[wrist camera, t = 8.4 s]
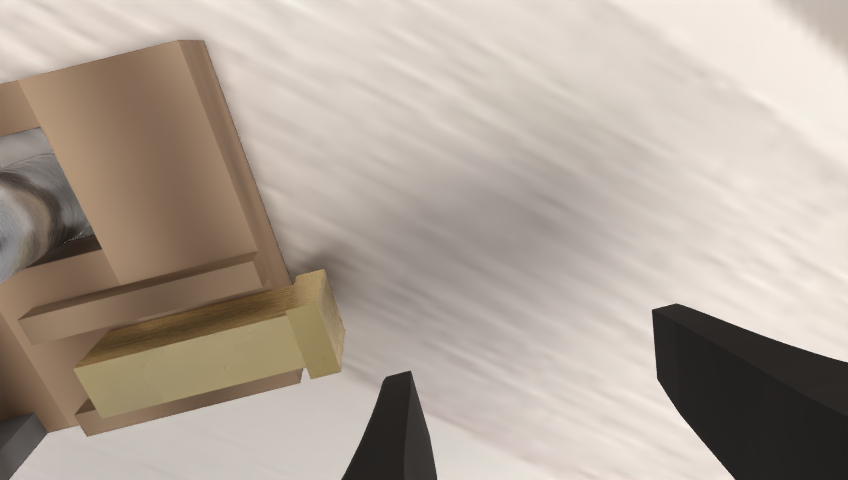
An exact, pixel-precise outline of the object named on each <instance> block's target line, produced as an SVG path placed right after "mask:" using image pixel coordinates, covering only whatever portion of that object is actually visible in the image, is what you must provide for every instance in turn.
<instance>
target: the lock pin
mask: <svg viewBox="0 0 848 480" xmlns="http://www.w3.org/2000/svg"><path fill="white" fill-rule="evenodd" d="M344 335H345V329H344V326H343V323H342V320H341V317H340V314H339V311H338V308H337V305H336V302H335V299H334V296H333V293H332V290H331V287H330V284H329V281H328V278H327V275H326V272H325V269H321V270H317V271H313V272H309V273H305V274H301V275H297V276H296V279H295V283H294V285H290V286H286V287H282V288H278V289H274V290H270V291H266V292H262V293H258V294H254V295H250V296H246V297H242V298H238V299H234V300H230V301H226V302H222V303H218V304H214V305H210V306H206V307H202V308H198V309H194V310H190V311H186V312H182V313H178V314H174V315H171V316H167V317H163V318H159V319H155V320H151V321H147V322H143V323H139V324H135V325H131V326H127V327H123V328H119V329H115V330H111V331H108V332H107V333H106V334H105V335H104V336H103V337H102V338H101V339H100V340H99V341H98V342H97V344H96V345H95V346H94V347H93V348H92V349H91V350H90V351H89V352H88V353H87V354H86V355H85V357H84V358H83V359H82V360H81V361H80V362H79V363H78V364H77V365H76V366H75V367H74V368H73V370H74V372H75V373H76V375H77V377H78V379H79V380H80V382H81V384H82V386H83V387H84V389H85V391H86V392H87V394H88V396H89V398H90V399H91V401H92V403H93V405H94V406H95V408H96V410H97V411H98V413H99V415H100V417H101V418H102V419H103V418H107V417H111V416H115V415H119V414H123V413H127V412H131V411H135V410H139V409H142V408H146V407H150V406H154V405H158V404H162V403H166V402H170V401H174V400H178V399H182V398H186V397H190V396H194V395H198V394H202V393H206V392H210V391H214V390H218V389H222V388H226V387H230V386H234V385H238V384H242V383H246V382H249V381H253V380H257V379H261V378H265V377H269V376H273V375H277V374H281V373H285V372H289V371H293V370H297V369H301V368H305V367H307V370H308V372H309V375H310V378H311V379H314V378H318V377H322V376H326V375H330V374H334V373H338V372H341V366H342V356H343V346H344Z"/></svg>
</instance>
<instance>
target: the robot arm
mask: <svg viewBox="0 0 848 480" xmlns="http://www.w3.org/2000/svg"><path fill="white" fill-rule="evenodd" d="M652 317H653V330H654V343H655V356H656V368H657V379H658V381H659V382H660V384H661V386H662V387H663V389H664V390H665V392H666V394H667V395H668V397H669V398H670V400H671V401H672V403H673V404H674V406H675V407H676V409H677V410H678V412H679V413H680V415H681V416H682V417H683V418H684V420H685V421H686V422H687V423H688V424H689V426H690V427H691V428H692V429H693V430H694V432H695V433H696V434H697V435H698V436H699V438H700V439H701V440H702V441H703V442H704V443H705V445H706V446H707V447H708V448H709V449H710V450H711V452H712V453H713V454H714V455H715V456H716V457H717V459H718V460H719V461H720V462H721V463H722V465H723V466H724V467H725V468H726V469H727V470H728V472H729V473H730V474H731V475H732V476H733V477H734V479H735V480H848V363H847V362H843V361H840V360H836V359H832V358H829V357H826V356H822V355H819V354H816V353H812V352H809V351H806V350H803V349H800V348H797V347H794V346H791V345H788V344H785V343H782V342H779V341H776V340H773V339H771V338H768V337H765V336H762V335H760V334H757V333H754V332H751V331H749V330H746V329H743V328H741V327H738V326H736V325H733V324H731V323H728V322H725V321H723V320H720V319H718V318H715V317H713V316H710V315H707V314H705V313H702V312H700V311H697V310H694V309H692V308H689V307H686V306H683V305H680V304H673V305H669V306H665V307H661V308H657V309H653V310H652ZM341 480H437V474H436V468H435V463H434V457H433V451H432V446H431V440H430V436H429V432H428V429H427V425H426V422H425V418H424V415H423V411H422V408H421V404H420V401H419V397H418V394H417V391H416V387H415V384H414V380H413V377H412V373H411V371H407V372H403V373H399V374H395V375H391V376H388V377H386V378H385V379H384V381H383V383H382V387H381V390H380V393H379V396H378V399H377V402H376V405H375V408H374V410H373V413H372V416H371V418H370V421H369V423H368V425H367V428H366V430H365V432H364V435H363V437H362V440H361V442H360V444H359V446H358V448H357V450H356V452H355V454H354V456H353V458H352V460H351V462H350V464H349V466H348V468H347V470H346V472H345V474H344V476H343V478H342V479H341Z"/></svg>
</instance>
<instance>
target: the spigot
mask: <svg viewBox="0 0 848 480" xmlns="http://www.w3.org/2000/svg"><path fill="white" fill-rule="evenodd" d="M89 226H90V223H89V221H88V219H87V217H86V215H85V213H84V211H83V209H82V207H81V205H80V203H79V201H78V199H77V197H76V195H75V193H74V192H73V190H72V188H71V186H70V184H69V182H68V180H67V178H66V176H65V174H64V172H63V170H62V168H61V166H60V164H59V162H58V160H57V158H56V156H55V155H54V154H44V155H38V156H35V157H32V158H29V159H26V160H23V161H20V162H17V163H14V164H11V165H8V166H5V167H2V168H0V284H1V283H3V282H4V281H6V280H7V279H9V278H10V277H12V276H13V275H15V274H16V273H18V272H19V271H21V270H23V269H24V268H26V267H27V266H29V265H30V264H32V263H33V262H35V261H36V260H38V259H40V258H41V257H43V256H44V255H46V254H47V253H49V252H50V251H52V250H53V249H55V248H57V247H58V246H60V245H61V244H63V243H64V242H66V241H67V240H69V239H70V238H72V237H73V236H75V235H77V234H78V233H80V232H81V231H83V230H84V229H86V228H87V227H89Z"/></svg>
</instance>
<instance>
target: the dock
mask: <svg viewBox="0 0 848 480" xmlns="http://www.w3.org/2000/svg"><path fill="white" fill-rule="evenodd" d="M37 127H41V128H42V130H43V132H44V134H45V136H46V138H47V140H48V142H49V144H50V146H51V148H52V150H53V152H54V154H55V156H56V158H57V160H58V162H59V164H60V166H61V168H62V170H63V172H64V174H65V176H66V178H67V180H68V182H69V184H70V186H71V188H72V190H73V192H74V193H75V195H76V197H77V199H78V201H79V203H80V205H81V207H82V209H83V211H84V213H85V215H86V217H87V219H88V221H89V223H90V225H91V227H92V229H93V231H94V233H95V235H93V236H89V237H85V238H81V239H77V240H73V241H69V242H65V243H63V244H61V245H60V246H58V247H57V248H55V249H53V250H52V251H50V252H49V253H47V254H46V255H44V256H43V257H41V258H40V259H38V260H36V261H35V262H33V263H32V264H30V265H29V266H27V267H26V268H24V269H23V270H21V271H19V272H18V273H16V274H15V275H13V276H12V277H10V278H9V279H7V280H6V281H4V282H3V283H1V284H0V480H9V479H10V478H11V477H12V475H13V474H14V473H15V472H16V471H17V469H18V468H19V467H20V466H21V465H22V463H23V462H24V461H25V460H26V459H27V457H28V456H29V455H30V454H31V453H32V451H33V450H34V449H35V448H36V447H37V445H38V444H39V443H40V442H41V441H42V439H43V438H44V437H45V436H46V435H47V433H50V432H54V431H58V430H62V429H66V428H69V427H73V426H77V425H80V426H81V428H82V429H83V431H84V433H85V434H86V436H87V437H88V436H92V435H96V434H100V433H103V432H107V431H111V430H115V429H119V428H123V427H127V426H131V425H135V424H139V423H143V422H147V421H151V420H155V419H159V418H163V417H167V416H171V415H175V414H179V413H183V412H187V411H191V410H195V409H199V408H202V407H206V406H210V405H214V404H218V403H222V402H226V401H230V400H234V399H238V398H242V397H246V396H250V395H254V394H258V393H262V392H266V391H270V390H274V389H278V388H282V387H286V386H290V385H294V384H298V383H300V380H301V376H302V371H303V368H301V369H297V370H293V371H289V372H285V373H281V374H277V375H273V376H269V377H265V378H261V379H257V380H253V381H249V382H246V383H242V384H238V385H234V386H230V387H226V388H222V389H218V390H214V391H210V392H206V393H202V394H198V395H194V396H190V397H186V398H182V399H178V400H174V401H170V402H166V403H162V404H158V405H154V406H150V407H146V408H142V409H139V410H135V411H131V412H127V413H123V414H119V415H115V416H111V417H107V418H103V419H102V418H101V417H100V415H99V413H98V411H97V410H96V408H95V406H94V405H93V403H92V401H91V399H90V398H89V396H88V394H87V392H86V391H85V389H84V387H83V386H82V384H81V382H80V380H79V379H78V377H77V375H76V373H75V372H74V370H73V368H74V367H75V366H76V365H77V364H78V363H79V362H80V361H81V360H82V359H83V358H84V357H85V355H86V354H87V353H88V352H89V351H90V350H91V349H92V348H93V347H94V346H95V345H96V344H97V342H98V341H99V340H100V339H101V338H102V337H103V336H104V335H105V334H106V333H107V332H108V331H111V330H115V329H119V328H123V327H127V326H131V325H135V324H139V323H143V322H147V321H151V320H155V319H159V318H163V317H167V316H171V315H174V314H178V313H182V312H186V311H190V310H194V309H198V308H202V307H206V306H210V305H214V304H218V303H222V302H226V301H230V300H234V299H238V298H242V297H246V296H250V295H254V294H258V293H262V292H266V291H270V290H274V289H278V288H282V287H286V286H290V285H292V283H291V280H290V277H289V275H288V272H287V269H286V266H285V264H284V261H283V258H282V255H281V253H280V250H279V247H278V244H277V242H276V239H275V236H274V233H273V231H272V228H271V225H270V222H269V220H268V217H267V214H266V211H265V209H264V206H263V203H262V200H261V198H260V195H259V192H258V189H257V187H256V184H255V181H254V178H253V176H252V173H251V170H250V167H249V165H248V162H247V159H246V156H245V154H244V151H243V148H242V145H241V143H240V140H239V137H238V134H237V132H236V129H235V126H234V123H233V121H232V118H231V115H230V113H229V110H228V107H227V104H226V102H225V99H224V96H223V93H222V91H221V88H220V85H219V82H218V80H217V77H216V74H215V71H214V69H213V66H212V63H211V60H210V58H209V55H208V52H207V49H206V47H205V44H204V41H194V40H176V41H172V42H168V43H164V44H160V45H156V46H152V47H148V48H144V49H140V50H136V51H132V52H128V53H124V54H120V55H116V56H112V57H108V58H104V59H100V60H96V61H92V62H88V63H84V64H80V65H76V66H72V67H68V68H64V69H60V70H56V71H52V72H48V73H44V74H40V75H36V76H32V77H28V78H24V79H20V80H16V81H12V82H8V83H4V84H0V137H1V136H5V135H9V134H13V133H17V132H21V131H25V130H29V129H33V128H37Z"/></svg>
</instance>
